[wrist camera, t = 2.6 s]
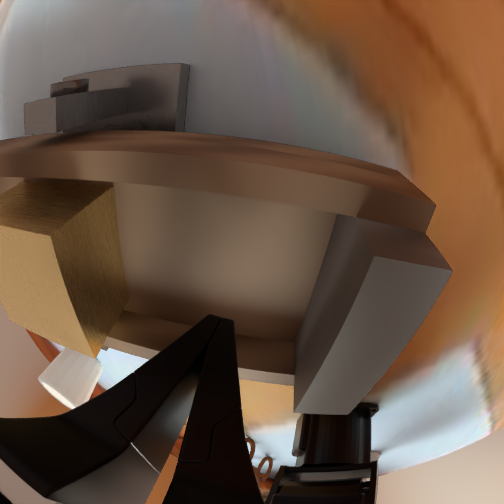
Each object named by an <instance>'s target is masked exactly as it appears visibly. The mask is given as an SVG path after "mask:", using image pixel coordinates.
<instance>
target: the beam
mask: <svg viewBox="0 0 504 504" xmlns="http://www.w3.org/2000/svg"><path fill="white" fill-rule="evenodd" d="M22 181H48V182H66V183H81V184H94V185H107V186H114V194H115V205H116V215H117V224H118V232H119V240H120V247H121V254H122V260H123V266H124V272H125V277H126V283H127V288H128V293H129V298H130V299H129V300H128V302H127V304H126V305H125V307H124V309H123V311H122V312H121V314H120V316H119V317H118V319H117V321H116V323H115V324H114V326H113V328H112V329H111V331H110V333H109V335H108V337H107V338H106V340H105V342H104V344H103V346H106V347H109V348H112V349H116V350H119V351H122V352H125V353H128V354H132V355H135V356H139V357H142V358H146V359H149V360H150V359H151V358H152V357H154V356H155V355H156V354H158V353H159V352H160V351H162V350H163V349H164V348H166V347H167V346H168V345H169V344H171V343H172V342H173V341H175V340H176V339H177V338H179V337H180V336H181V335H182V334H184V333H185V332H186V331H188V330H189V329H190V328H192V327H193V326H194V325H195V324H197V323H198V322H199V321H200V320H202V319H203V318H204V317H206V316H207V315H208V314H214V315H218V316H221V318H222V317H225V318H229V319H233V320H234V323H235V336H236V349H237V362H238V374H239V379H244V380H250V381H257V382H265V383H273V384H281V385H291V386H294V413H307V414H332V415H348V414H349V413H350V412H351V411H352V410H353V409H354V408H355V407H356V406H357V405H358V404H359V403H360V401H361V400H362V399H363V398H364V397H365V396H366V395H367V394H368V393H369V391H370V390H371V389H372V388H373V387H374V386H375V385H376V383H377V382H378V381H379V380H380V379H381V377H382V376H383V375H384V374H385V373H386V371H387V370H388V369H389V368H390V366H391V365H392V364H393V362H394V361H395V360H396V359H397V357H398V356H399V355H400V353H401V352H402V351H403V349H404V348H405V347H406V345H407V344H408V342H409V341H410V340H411V338H412V337H413V335H414V334H415V333H416V331H417V330H418V328H419V327H420V325H421V324H422V322H423V321H424V319H425V318H426V316H427V314H428V313H429V311H430V310H431V308H432V307H433V305H434V303H435V302H436V300H437V298H438V297H439V295H440V293H441V292H442V290H443V288H444V286H445V285H446V283H447V281H448V279H449V277H450V276H451V274H452V272H453V270H452V269H451V267H450V266H449V264H448V263H447V262H446V260H445V259H444V257H443V256H442V255H441V253H440V252H439V251H438V249H437V248H436V247H435V245H434V244H433V243H432V241H431V240H430V239H429V237H428V236H427V235H426V234H425V233H426V230H427V228H428V225H429V223H430V220H431V218H432V215H433V213H434V210H435V207H436V204H435V203H434V202H433V201H432V200H431V199H429V198H428V197H427V196H426V195H425V194H424V193H423V192H422V191H421V190H420V189H418V188H417V187H416V186H415V185H414V184H413V183H411V182H410V181H409V180H408V179H407V178H406V177H404V176H403V175H402V174H401V173H400V172H398V171H397V170H393V169H390V168H386V167H383V166H379V165H376V164H372V163H368V162H365V161H361V160H357V159H353V158H349V157H344V156H340V155H336V154H331V153H327V152H322V151H318V150H313V149H308V148H302V147H297V146H292V145H286V144H280V143H274V142H268V141H261V140H254V139H247V138H239V137H230V136H221V135H211V134H200V133H187V132H170V131H142V130H107V131H80V132H65V133H53V134H43V135H34V136H26V137H19V138H12V139H6V140H0V195H1V194H3V193H4V192H6V191H7V190H9V189H11V188H12V187H14V186H15V185H17V184H19V183H20V182H22Z"/></svg>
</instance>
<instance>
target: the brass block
mask: <svg viewBox="0 0 504 504" xmlns="http://www.w3.org/2000/svg"><path fill="white" fill-rule="evenodd" d="M129 299H130V298H129V293H128V288H127V283H126V277H125V272H124V266H123V260H122V254H121V247H120V240H119V232H118V224H117V215H116V205H115V194H114V186H107V185H94V184H81V183H66V182H48V181H22V182H20V183H19V184H17V185H15V186H14V187H12V188H11V189H9V190H7V191H6V192H4V193H3V194H1V195H0V302H1V304H2V306H3V308H4V310H5V311H6V313H7V315H8V317H9V319H10V320H11V321H12V322H14V323H16V324H18V325H20V326H22V327H24V328H26V329H28V330H30V331H32V332H34V333H36V334H38V335H40V336H42V337H44V338H46V339H48V340H51V341H53V342H55V343H57V344H60V345H62V346H64V347H67V348H69V349H72V350H74V351H76V352H79V353H81V354H84V355H87V356H89V357H92V358H95V359H96V357H97V355H98V353H99V351H100V349H101V347H102V346H103V344H104V342H105V340H106V338H107V337H108V335H109V333H110V331H111V329H112V328H113V326H114V324H115V323H116V321H117V319H118V317H119V316H120V314H121V312H122V311H123V309H124V307H125V305H126V304H127V302H128V300H129Z"/></svg>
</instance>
